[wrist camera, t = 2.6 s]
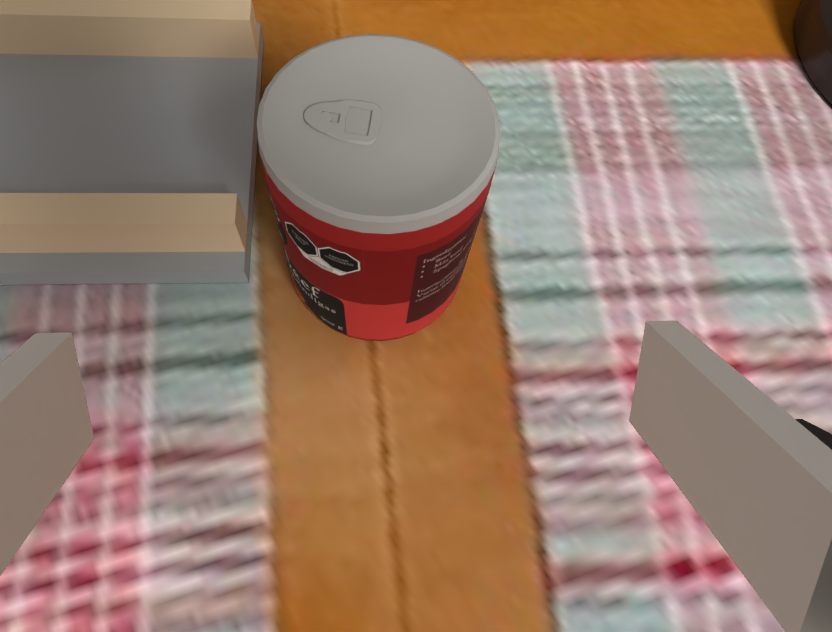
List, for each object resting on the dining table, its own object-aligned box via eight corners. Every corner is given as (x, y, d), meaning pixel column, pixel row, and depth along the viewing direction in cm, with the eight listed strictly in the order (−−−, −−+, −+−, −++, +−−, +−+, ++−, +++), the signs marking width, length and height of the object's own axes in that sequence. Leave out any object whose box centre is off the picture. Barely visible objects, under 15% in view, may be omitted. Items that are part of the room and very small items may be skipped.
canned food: (285, 212, 31) (246, 38, 21) (443, 196, 32) (477, 23, 22) (299, 357, 29) (262, 237, 18) (471, 335, 30) (526, 209, 19)
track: (263, 40, 35) (252, -17, 32) (248, 282, 30) (233, 244, 26) (-78, 32, 34) (-128, -28, 30) (-162, 286, 28) (-234, 246, 25)
